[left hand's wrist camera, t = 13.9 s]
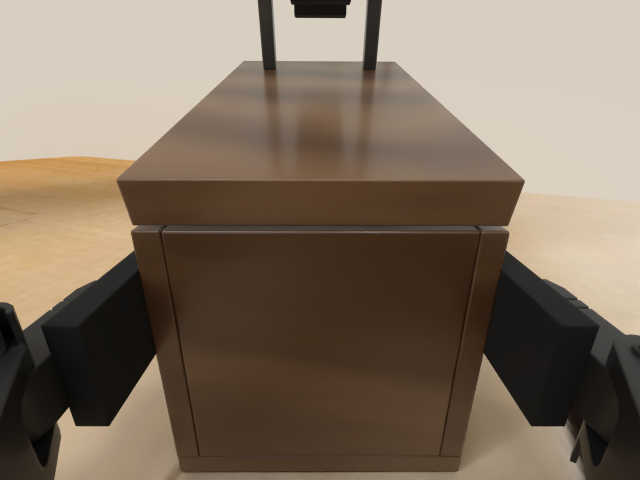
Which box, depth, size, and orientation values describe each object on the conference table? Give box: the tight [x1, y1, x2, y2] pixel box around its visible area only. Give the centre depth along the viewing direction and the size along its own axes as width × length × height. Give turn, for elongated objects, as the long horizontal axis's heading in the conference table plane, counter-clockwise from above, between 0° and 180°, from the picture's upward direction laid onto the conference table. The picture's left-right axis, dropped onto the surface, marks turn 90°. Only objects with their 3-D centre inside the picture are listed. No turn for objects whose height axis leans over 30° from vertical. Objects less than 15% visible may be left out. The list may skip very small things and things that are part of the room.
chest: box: [131, 225, 509, 471], centre depth 18 cm, size 17×10×9 cm, turn 0°
